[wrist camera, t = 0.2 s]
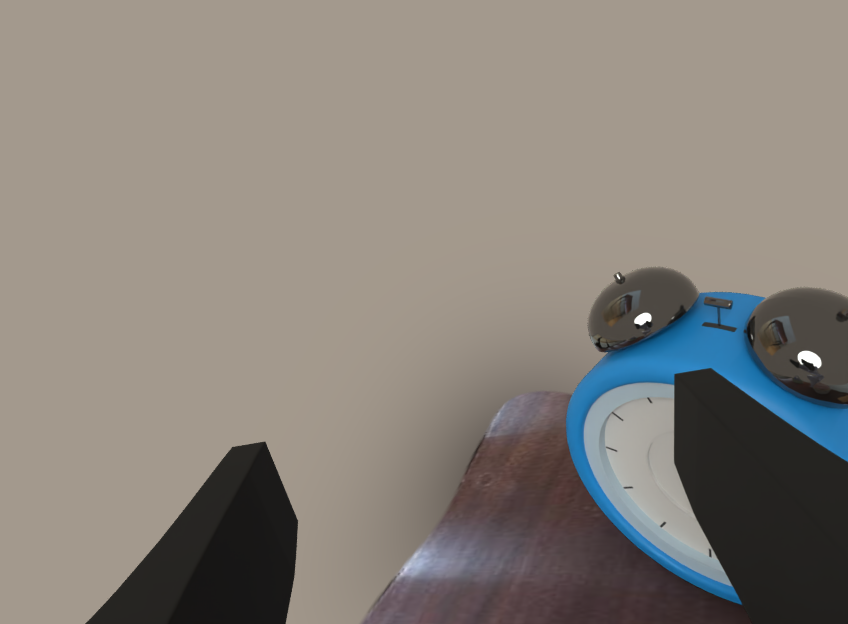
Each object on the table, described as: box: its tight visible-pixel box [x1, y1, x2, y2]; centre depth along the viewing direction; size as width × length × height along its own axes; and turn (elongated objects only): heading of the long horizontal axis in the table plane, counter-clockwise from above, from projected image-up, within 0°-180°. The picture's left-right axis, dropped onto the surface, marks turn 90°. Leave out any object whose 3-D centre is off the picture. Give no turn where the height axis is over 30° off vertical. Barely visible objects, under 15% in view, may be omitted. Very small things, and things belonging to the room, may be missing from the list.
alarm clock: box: [566, 267, 848, 605], centre depth 29 cm, size 13×6×15 cm, turn 46°
